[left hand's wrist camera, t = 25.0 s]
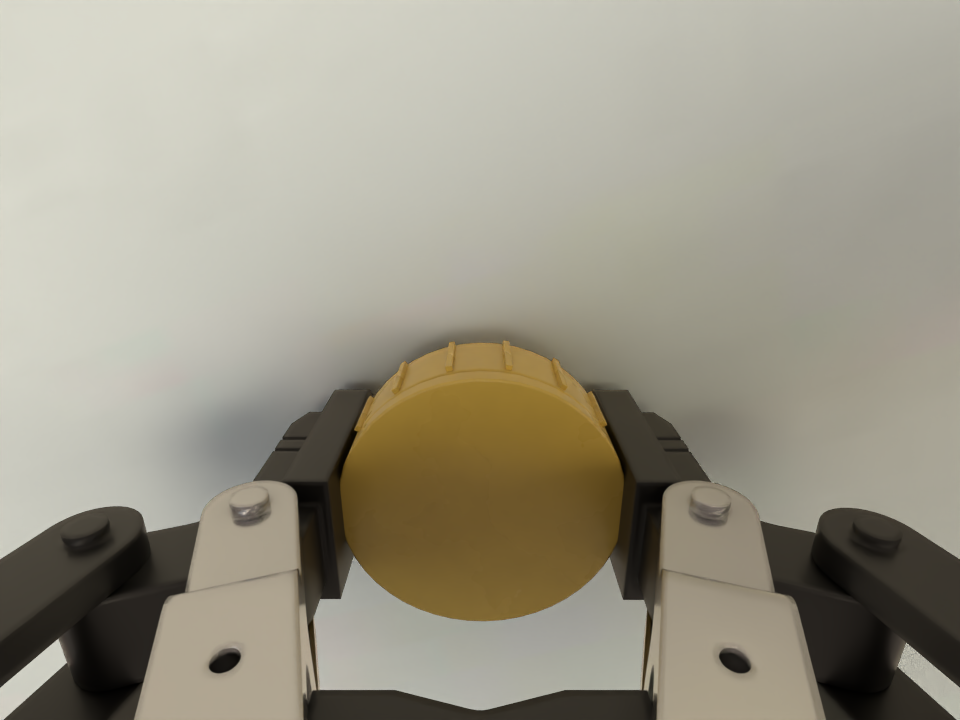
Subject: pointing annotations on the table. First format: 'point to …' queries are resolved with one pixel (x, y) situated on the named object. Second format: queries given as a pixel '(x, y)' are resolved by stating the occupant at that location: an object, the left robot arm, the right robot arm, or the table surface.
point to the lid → (482, 484)
